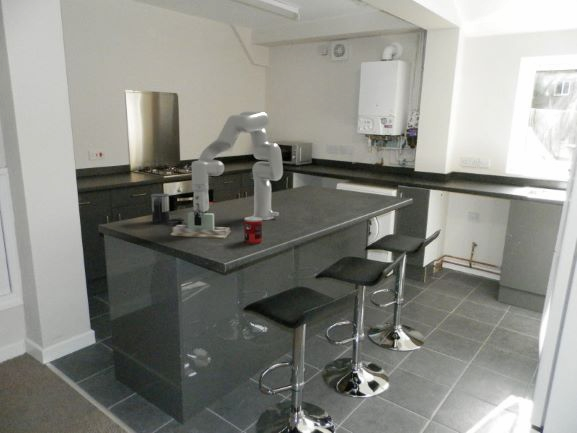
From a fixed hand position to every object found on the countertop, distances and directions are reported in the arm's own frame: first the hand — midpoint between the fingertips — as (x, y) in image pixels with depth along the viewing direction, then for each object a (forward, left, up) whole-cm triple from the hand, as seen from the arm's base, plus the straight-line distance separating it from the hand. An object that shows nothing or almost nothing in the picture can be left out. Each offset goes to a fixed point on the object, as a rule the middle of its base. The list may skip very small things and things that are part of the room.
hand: (201, 222), depth 200 cm
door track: (0, 0, -5) cm, 5 cm away
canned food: (-27, +9, -5) cm, 29 cm away
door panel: (0, 0, -4) cm, 4 cm away
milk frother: (+24, -17, -6) cm, 30 cm away
